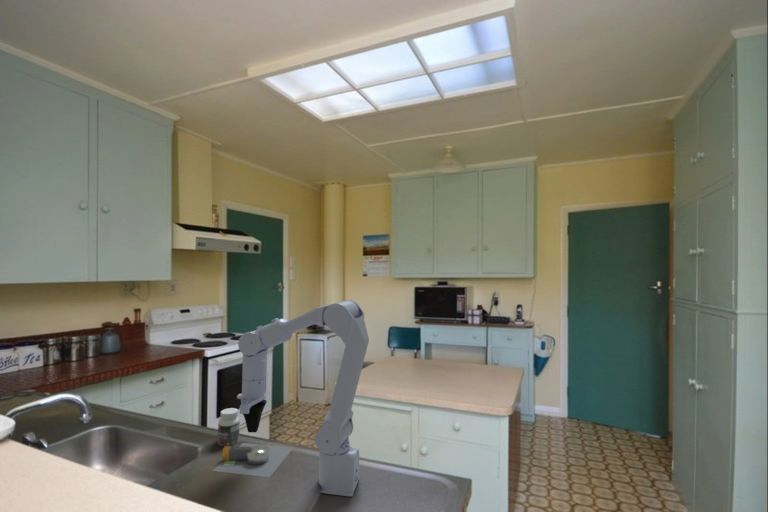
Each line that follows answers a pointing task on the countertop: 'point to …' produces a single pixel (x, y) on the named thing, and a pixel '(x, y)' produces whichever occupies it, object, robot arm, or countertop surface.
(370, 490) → the countertop surface
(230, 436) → the pill bottle
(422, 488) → the countertop surface
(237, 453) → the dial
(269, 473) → the board
